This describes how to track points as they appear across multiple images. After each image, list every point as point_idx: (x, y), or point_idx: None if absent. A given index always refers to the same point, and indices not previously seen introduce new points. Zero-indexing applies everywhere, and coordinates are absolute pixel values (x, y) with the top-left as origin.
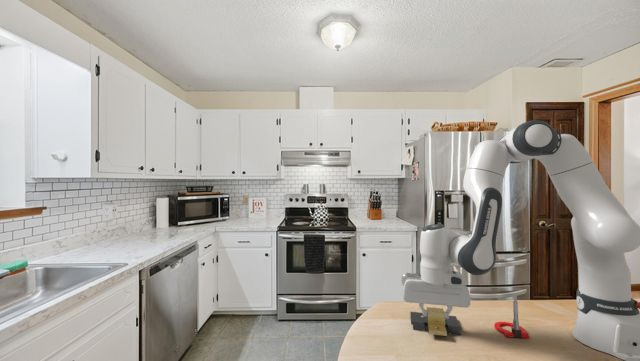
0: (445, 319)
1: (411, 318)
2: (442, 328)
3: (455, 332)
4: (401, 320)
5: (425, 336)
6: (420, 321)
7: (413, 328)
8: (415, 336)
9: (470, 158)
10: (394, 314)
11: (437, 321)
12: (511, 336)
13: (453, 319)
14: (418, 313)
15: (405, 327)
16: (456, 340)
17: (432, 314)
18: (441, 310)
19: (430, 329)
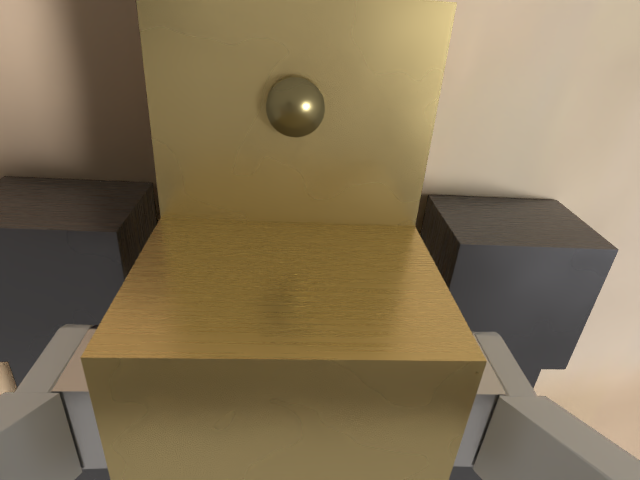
0: None
1: (531, 377)
2: (205, 106)
3: (47, 190)
4: (608, 358)
5: (452, 61)
6: (503, 275)
7: (560, 207)
8: (590, 34)
9: None
10: (629, 438)
11: (270, 247)
12: None
13: None
14: None
15: (626, 234)
16: (42, 27)
17: (368, 325)
18: (154, 463)
19: (427, 29)
